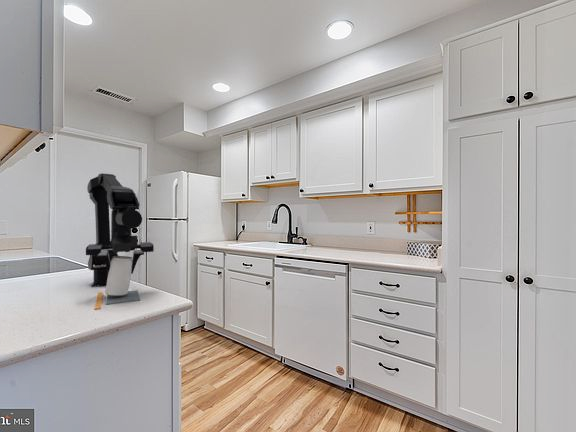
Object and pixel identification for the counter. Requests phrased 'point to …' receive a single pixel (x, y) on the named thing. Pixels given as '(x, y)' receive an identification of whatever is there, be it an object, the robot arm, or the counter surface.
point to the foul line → (98, 301)
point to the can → (119, 276)
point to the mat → (123, 298)
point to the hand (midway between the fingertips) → (121, 274)
